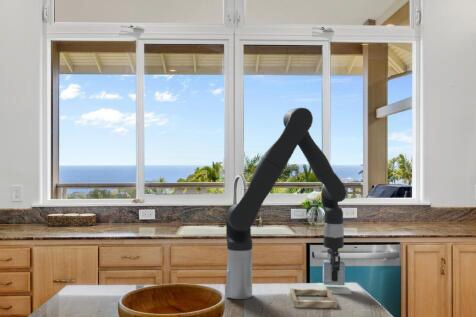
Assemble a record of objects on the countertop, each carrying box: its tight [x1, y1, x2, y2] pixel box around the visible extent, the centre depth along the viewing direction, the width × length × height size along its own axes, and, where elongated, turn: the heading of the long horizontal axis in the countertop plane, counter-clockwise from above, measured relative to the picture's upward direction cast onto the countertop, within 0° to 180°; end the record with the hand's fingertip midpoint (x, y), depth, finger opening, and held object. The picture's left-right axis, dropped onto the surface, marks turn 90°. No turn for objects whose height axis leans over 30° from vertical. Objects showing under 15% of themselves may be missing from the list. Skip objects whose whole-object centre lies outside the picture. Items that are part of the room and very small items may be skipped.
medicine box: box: [322, 259, 346, 285], centre depth 160 cm, size 8×4×9 cm, turn 84°
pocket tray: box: [289, 288, 338, 309], centre depth 147 cm, size 14×14×2 cm
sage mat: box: [316, 282, 352, 295], centre depth 160 cm, size 11×11×1 cm
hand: (333, 278), depth 160 cm, fingers closed on medicine box, 4 cm apart
